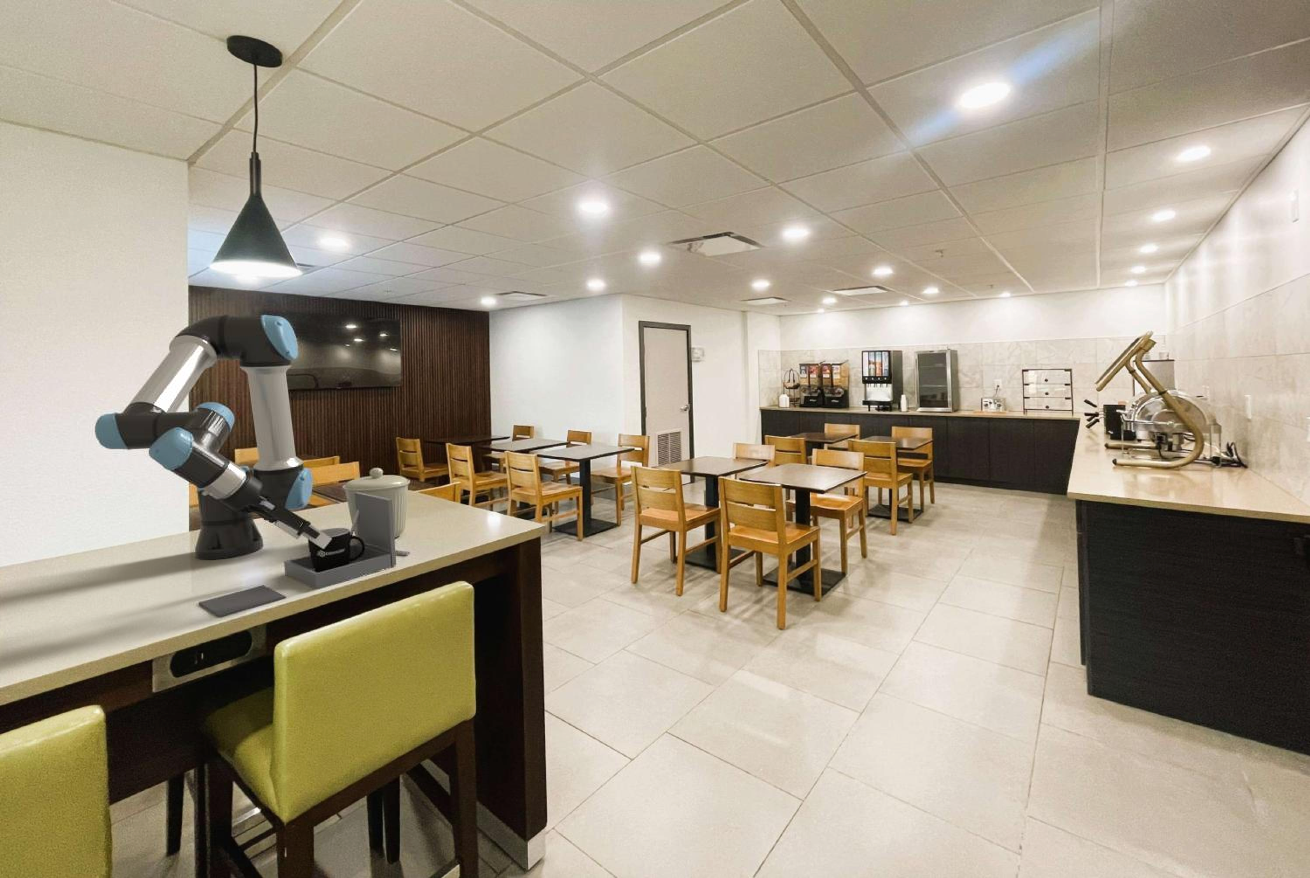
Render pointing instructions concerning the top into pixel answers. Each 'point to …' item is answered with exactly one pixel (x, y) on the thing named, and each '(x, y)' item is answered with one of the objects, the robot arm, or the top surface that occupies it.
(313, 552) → the mug
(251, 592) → the mat
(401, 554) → the rod
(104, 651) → the top surface
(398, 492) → the canister
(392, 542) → the case
